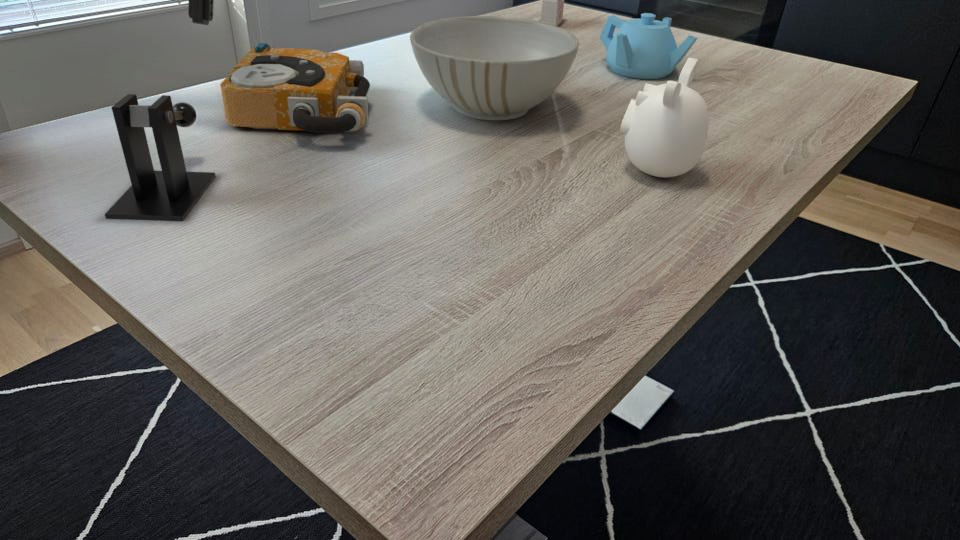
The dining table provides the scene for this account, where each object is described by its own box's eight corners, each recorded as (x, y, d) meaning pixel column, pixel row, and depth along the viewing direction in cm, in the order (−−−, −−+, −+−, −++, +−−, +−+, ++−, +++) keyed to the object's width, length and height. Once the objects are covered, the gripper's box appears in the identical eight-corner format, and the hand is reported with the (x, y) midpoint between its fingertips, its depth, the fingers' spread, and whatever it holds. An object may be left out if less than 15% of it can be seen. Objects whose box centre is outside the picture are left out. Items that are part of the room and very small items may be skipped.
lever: (176, 126, 94) (175, 102, 93) (200, 127, 94) (199, 102, 93) (126, 130, 80) (124, 101, 79) (154, 131, 80) (152, 102, 79)
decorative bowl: (456, 152, 103) (457, 70, 96) (386, 95, 122) (384, 23, 115) (603, 125, 114) (613, 50, 107) (518, 76, 133) (522, 10, 127)
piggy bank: (614, 151, 105) (629, 50, 97) (694, 159, 103) (716, 58, 95) (613, 188, 95) (630, 78, 86) (701, 197, 93) (727, 87, 85)
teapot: (666, 59, 147) (676, 5, 141) (690, 82, 134) (702, 24, 128) (594, 58, 145) (601, 4, 139) (612, 81, 133) (620, 23, 127)
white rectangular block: (540, 26, 165) (544, -19, 160) (547, 20, 171) (551, -24, 165) (555, 28, 164) (559, -17, 159) (562, 21, 170) (566, -22, 164)
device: (384, 41, 121) (359, 100, 96) (386, 88, 125) (362, 156, 100) (252, 36, 120) (192, 94, 95) (258, 83, 125) (202, 151, 100)
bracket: (147, 178, 92) (124, 82, 85) (216, 180, 92) (198, 85, 85) (106, 223, 82) (76, 118, 75) (184, 225, 82) (160, 121, 75)
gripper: (263, -101, 95) (257, 32, 100) (167, -114, 95) (165, 20, 100) (243, -117, 88) (238, 27, 92) (139, -130, 88) (138, 14, 92)
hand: (200, 23), depth 96 cm, fingers closed
